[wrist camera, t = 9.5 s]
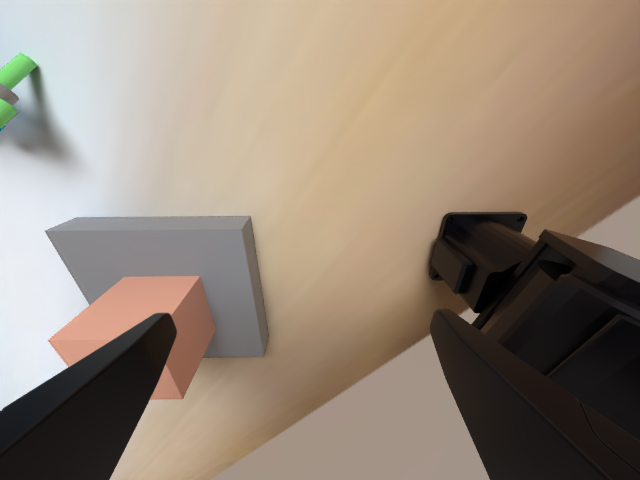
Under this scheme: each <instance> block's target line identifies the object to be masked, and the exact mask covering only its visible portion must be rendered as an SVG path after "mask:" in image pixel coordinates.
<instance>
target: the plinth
mask: <svg viewBox="0 0 640 480" xmlns="http://www.w3.org/2000/svg"><path fill="white" fill-rule="evenodd" d="M45 232H46V234H47V236H48V237H49V239H50V241H51V242H52V244H53V246H54V247H55V249H56V251H57V252H58V254H59V255H60V257H61V259H62V260H63V262H64V264H65V265H66V267H67V269H68V270H69V272H70V274H71V275H72V277H73V278H74V280H75V282H76V283H77V285H78V287H79V288H80V290H81V292H82V293H83V295H84V297H85V298H86V300H87V301H88V303H89V305H91V304H92V303H93V302H95V301H96V300H97V299H98V298H99V297H101V296H102V295H103V294H104V293H105V292H107V291H108V290H109V289H110V288H111V287H113V286H114V285H115V284H116V283H117V282H119V281H120V280H121V279H122V278H123V277H155V276H200V277H201V281H202V284H203V288H204V291H205V294H206V298H207V301H208V304H209V308H210V311H211V315H212V318H213V321H214V325H215V328H216V330H215V332H214V334H213V336H212V339H211V341H210V343H209V345H208V347H207V349H206V351H205V353H204V355H203V358H211V357H264V355H265V350H266V346H267V341H268V336H269V335H268V329H267V322H266V316H265V309H264V303H263V296H262V289H261V283H260V276H259V270H258V263H257V257H256V250H255V243H254V237H253V230H252V224H251V217H250V216H208V217H90V218H74V219H72V220H70V221H67V222H65V223H62V224H60V225H58V226H55V227H53V228H50V229H48V230H46V231H45Z"/></svg>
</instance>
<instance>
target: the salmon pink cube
mask: <svg viewBox="0 0 640 480" xmlns="http://www.w3.org/2000/svg"><path fill="white" fill-rule="evenodd" d="M155 313H169V314H171V316H172V318H173V321H174V323H175V326H176V328H177V336H176V339H175V342H174V344H173V347H172V349H171V352H170V354H169V357H168V359H167V362H166V364H165V367H164V370H163V372H162V375H161V377H160V379H159V382H158V384H157V386H156V388H155V390H154V392H153V394H152V396H151V398H150V400H156V399H183V398H184V395H185V393H186V391H187V389H188V387H189V385H190V383H191V381H192V379H193V376H194V374H195V372H196V370H197V368H198V366H199V364H200V362H201V360H202V358H203V355H204V353H205V351H206V349H207V347H208V345H209V343H210V341H211V339H212V336H213V334H214V332H215V330H216V328H215V325H214V321H213V318H212V315H211V311H210V308H209V304H208V301H207V298H206V294H205V291H204V288H203V284H202V281H201V277H200V276H155V277H123V278H122V279H121V280H120V281H119V282H117V283H116V284H115V285H114V286H113V287H111V288H110V289H109V290H108V291H107V292H105V293H104V294H103V295H102V296H101V297H99V298H98V299H97V300H96V301H95V302H93V303H92V304H91V305H90V306H89V307H87V308H86V309H85V310H84V311H83V312H81V313H80V314H79V315H78V316H77V317H75V318H74V319H73V320H72V321H71V322H69V323H68V324H67V325H66V326H64V327H63V328H62V329H61V330H60V331H58V332H57V333H56V334H55V335H54V336H52V337H51V338H50V339H49V340H48V342H49V343H50V344H51V345H52V347H53V348H54V349H55V350H56V352H57V353H58V354H59V355H60V357H61V358H62V359H63V361H64V362H65V363H66V364H67V366H68V367H70V366H71V365H73V364H75V363H76V362H78V361H79V360H81V359H83V358H84V357H86V356H87V355H89V354H91V353H92V352H94V351H95V350H97V349H99V348H100V347H102V346H103V345H105V344H107V343H108V342H110V341H111V340H113V339H115V338H116V337H118V336H119V335H121V334H123V333H124V332H126V331H127V330H129V329H131V328H132V327H134V326H135V325H137V324H139V323H140V322H142V321H143V320H145V319H147V318H148V317H150V316H151V315H153V314H155Z"/></svg>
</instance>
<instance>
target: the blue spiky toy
mask: <svg viewBox="0 0 640 480" xmlns="http://www.w3.org/2000/svg"><path fill="white" fill-rule="evenodd" d="M35 67H37V65H36V63H35V62H34V61H33V60H31V59H30V58H29V57H27V56H26V55H24V54H22V53H19V54H18V55H17V56H16V57H15V58H14V59H12V60H11V61H10V62H9V63H8V64H7V65H5V66H4V67H3V68H2V69H1V70H0V131H1V130H2V129H3V128H4V127H5V126H4V125H5V124H6V123H7V122H8V121H10V120H11V119H12V118H13V117H14V116H15V115H16V114H17V113H18V110H17V109H16V108H15V107H13V105H14V104H15V103H16V102H17V101H18V100H19V98H18V97H17V96H16V95H15V94H14V93H13V92H12V91H11V89H12V88H13V87H14V86H16V85H17V84H18V83H19V82H20V81H21V80H22V79H23V78H24V77H26V76H27V75H28V74H29V73H30V72H31V71H32V70H33V69H34V68H35Z"/></svg>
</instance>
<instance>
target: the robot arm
mask: <svg viewBox="0 0 640 480" xmlns="http://www.w3.org/2000/svg"><path fill="white" fill-rule="evenodd" d="M452 217H453V219H452V220H451V221H449V220H450V218H452ZM519 217H520V218H519ZM518 218H519V219H518ZM517 219H518V220H517ZM526 220H527V215H526V214H524V213H522V212H451V213H448V214H446V215H445V217H444V219H443V223H442V227H441V231H440V235H439V237H438V239H437V241H436V245H435V248H434V252H433V256H432V260H431V264H432V266H431V269H430V273H429V275H430V277H431V278H432V280H444V281H445V282H446V283H447V285H448V286H449V287H450V288H451V290H452V291H453V292H454V293H455V294H460V295H461V297H462V298H463V299H464V300H465V302H466V303H467V304H468V305H469V307H470V308H471V309H472V310H473V312H474V313H480V314H479V316H478V317H477V318H476V320H475V321H474V322H473V323H472V324H469V323H468V322H467V321H465V320H464V319H462V318H461V317H459V316H458V315H457V314H455V313H454V312H452V311H451V310H449V309H436V310H435V311H434V314H433V318H432V321H431V324H430V333H431V336H432V339H433V342H434V345H435V348H436V351H437V354H438V357H439V360H440V363H441V366H442V369H443V372H444V375H445V378H446V380H447V383H448V385H449V388H450V389H451V392H452V394H453V396H454V399H455V401H456V403H457V406H458V408H459V410H460V413H461V415H462V417H463V419H464V422H465V424H466V426H467V428H468V430H469V433H470V435H471V437H472V439H473V442H474V444H475V446H476V449H477V451H478V453H479V455H480V458H481V460H482V462H483V464H484V467H485V469H486V471H487V474H488V476H489V478H490V480H640V260H638V259H636V258H633V257H631V256H629V255H626V254H624V253H621V252H619V251H616V250H614V249H612V248H609V247H606V246H602V245H599V244H595V243H592V242H588V241H585V240H581V239H578V238H574V237H571V236H567V235H564V234H560V233H557V232H553V231H550V230H546V229H545V230H544V231H543V232H542V233H541V235H540V236H539V238H540V239H539V240H538V242H535V241H534V240H532V239H530V238H528V237H527V236H525V235H523V234H521V231H522V229H523V227H524V225H525V222H526ZM435 274H437V275H435ZM434 275H435V276H434ZM176 336H177V328H176V326H175V323H174V321H173V318H172V316H171V314H169V313H155V314H153V315H151V316H150V317H148V318H147V319H145V320H143V321H142V322H140V323H139V324H137V325H135V326H134V327H132V328H131V329H129V330H127V331H126V332H124V333H123V334H121V335H119V336H118V337H116V338H115V339H113V340H111V341H110V342H108V343H107V344H105V345H103V346H102V347H100V348H99V349H97V350H95V351H94V352H92V353H91V354H89V355H87V356H86V357H84V358H83V359H81V360H79V361H78V362H76V363H75V364H73V365H71V366H70V367H68V368H67V369H65V370H63V371H62V372H60V373H59V374H57V375H55V376H54V377H52V378H51V379H49V380H47V381H46V382H44V383H43V384H41V385H39V386H38V387H36V388H35V389H33V390H31V391H30V392H28V393H27V394H25V395H23V396H22V397H20V398H19V399H17V400H15V401H14V402H12V403H11V404H9V405H7V406H6V407H4V408H3V409H2V411H0V480H109V479H110V477H111V475H112V473H113V471H114V469H115V467H116V466H117V464H118V462H119V460H120V458H121V456H122V454H123V452H124V450H125V448H126V446H127V444H128V442H129V440H130V438H131V436H132V434H133V432H134V430H135V428H136V426H137V424H138V422H139V420H140V418H141V416H142V414H143V412H144V410H145V408H146V406H147V404H148V402H149V400H150V398H151V396H152V394H153V392H154V390H155V388H156V386H157V384H158V382H159V379H160V377H161V375H162V372H163V370H164V367H165V364H166V362H167V359H168V357H169V354H170V352H171V349H172V347H173V344H174V342H175V339H176Z"/></svg>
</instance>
